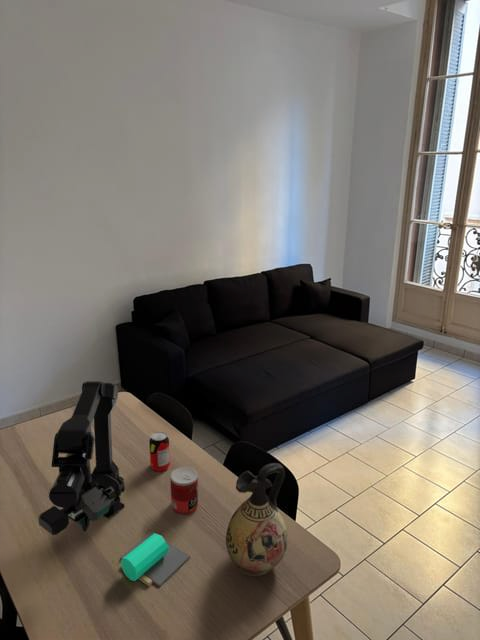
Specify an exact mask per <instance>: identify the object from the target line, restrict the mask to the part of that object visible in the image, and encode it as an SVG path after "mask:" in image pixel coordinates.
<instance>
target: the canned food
mask: <svg viewBox="0 0 480 640" xmlns="http://www.w3.org/2000/svg"><path fill="white" fill-rule="evenodd" d="M198 475H199V474H198V472H197V471H196V470H195V469H194V468H192V467H185V466H180V467H177V468H175V469H173V470H172V471H171V473H170V477H169V478H170V479H169V480H170V501H171V503H170V504H171V508H172V509H173V511H174V512H175V513H177V514H180V515H190V514H192V513H194V512H195V511H196V510H197V508H198V506H199V477H198Z"/></svg>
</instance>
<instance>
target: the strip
mask: <svg viewBox="0 0 480 640" xmlns="http://www.w3.org/2000/svg"><path fill="white" fill-rule="evenodd" d="M137 580H139V581H140V582H141V583H143V584H145V586H147V587H148V588H150V587H151V586H152V585H153V582H152V580H151V579H149V578H148V577H147V576H145V575H144V574H143V575H142V576H140V577H139V578H138V579H137Z"/></svg>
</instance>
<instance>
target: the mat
mask: <svg viewBox="0 0 480 640" xmlns="http://www.w3.org/2000/svg"><path fill="white" fill-rule="evenodd" d="M154 533H155V532H153V531H150V532H149V533H148V534H147V535H145V536H144V537H143V538H142V539H141V540H139V541H138V542H137V543H136V544H135V545H133V546H132V547H131V548H130V549H129V550H128V551H126V552H125V553H124V554H123V555H121V556H120V561H121V560H122V559H123V558H124V557H125V556H126V555H128V554H129V553H130V552H131V551H133V550H134V549H135V548H136V547H138V546H139V545H140V544H141V543H143V542H144V541H145V540H147V539H148V538H149V537H150V536H152V535H153V534H154ZM164 540H165V542H166V544H167V545H168V553H167V554H166V555H165V556H164V557H162V558H161V559H160V560H159V561H158V562H157V563H156V564H154V565H153V566H152V567H151V568H150V569H149V570H147V571H146V572H145V573H144V575H145V576H147V577H148V578H149V579H151V580H152V584H155V585H156V586H158V587H159V588H160V587H162V585H164V584H165V583H166V582H167V581H168V580H170V578H171V577H172V576H173V575H174V574H175V573H176V572H177V571H178V570H179V569H180V568H181V567H182V566H184V564H185V563H186V562H187V561H188V560H190V559H191V556H190V554H188V553H186V552H185V551H183V550H181V549H180V548H178V547H177V546H176V545H173V544H172V543H170V542H169V541H167V540H166V539H164Z"/></svg>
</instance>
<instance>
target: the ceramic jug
mask: <svg viewBox="0 0 480 640" xmlns="http://www.w3.org/2000/svg"><path fill="white" fill-rule="evenodd" d="M274 473H277V474H276V476H275V479H274V482H273V483H272V481H271V480H270V479H268V476H269V475H271V474H274ZM285 478H286V471H285V469H284V466H283V465H282V464H280V463H277V462H270V463H267V464H265V465H263V467H261V468H260V469H259V472H258V474H257V475H254V474H253V472H251V471H249V470H245V471H243V472H242V473H241V474H240V475H239V476H238V478H237V479H236V482H235V483H236V484H235V489H236V491H237V492H239V493H241V494H246V493H252V494H251V495H250V496H249V497H248V498H246V500H244V501H243V502H242V503H241V504H240V506H238V508H237V509H235V511H234V512H233V514H232V516H231V518H230V519H229V522H228V525H227V527H226V529H227V530H226V533H225V534H226V535H225V546H226V551H227V554H228V555H229V557H230V559H231V561H232V562H233V563H234V564H235V565H236V567H237V568H238V569H239V570H240V571H241V572H242V573H243V574H245V575H247V576H251V577H259V576H263V575H266V573H269V572H270V571H271V570H272V569H274V568H275V567H276V566H278V565H279V563H280V562H282V560H283V559H284V557H285V554H286V551H287V549H288V532H287V531H288V530H287V526H286V523H285V520H284V518H283V517H282V515H281V513H280V511H279V510H278V506H277V497H278V495H279V493H280V490H281V487H282V485H283V483H284V480H285ZM267 489H270V491H269V492H268V494H267V492H266V491H267Z"/></svg>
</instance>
